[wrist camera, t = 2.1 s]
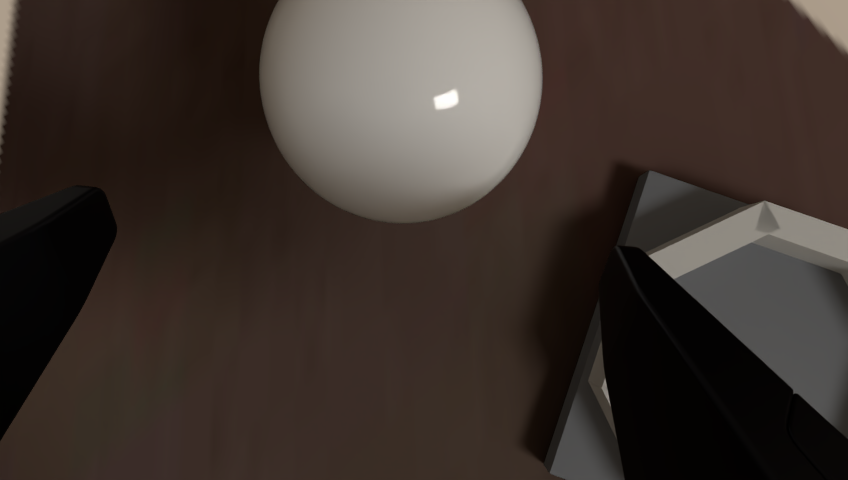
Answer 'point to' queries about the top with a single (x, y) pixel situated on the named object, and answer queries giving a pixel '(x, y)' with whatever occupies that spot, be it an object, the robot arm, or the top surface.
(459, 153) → the lightbulb
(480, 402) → the top surface
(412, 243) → the top surface
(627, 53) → the top surface
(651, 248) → the bulb stand
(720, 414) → the robot arm
